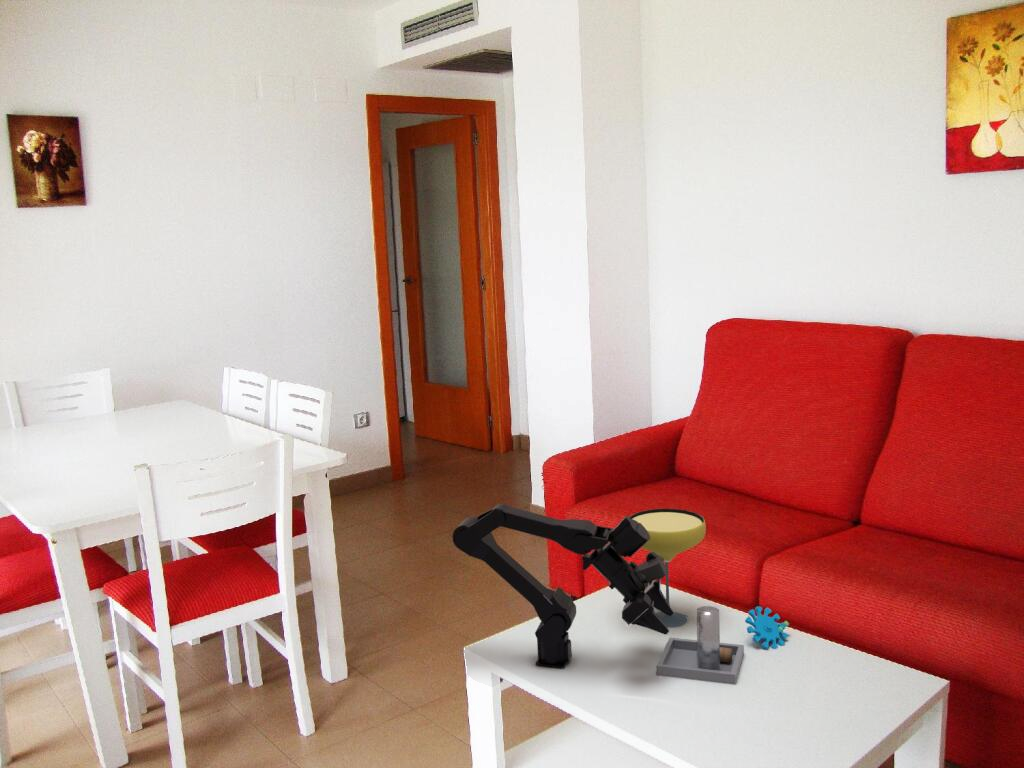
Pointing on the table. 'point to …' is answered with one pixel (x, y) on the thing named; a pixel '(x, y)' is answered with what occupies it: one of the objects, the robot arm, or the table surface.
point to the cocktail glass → (671, 542)
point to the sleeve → (708, 638)
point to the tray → (683, 662)
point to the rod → (725, 655)
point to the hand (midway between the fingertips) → (669, 623)
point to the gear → (766, 628)
